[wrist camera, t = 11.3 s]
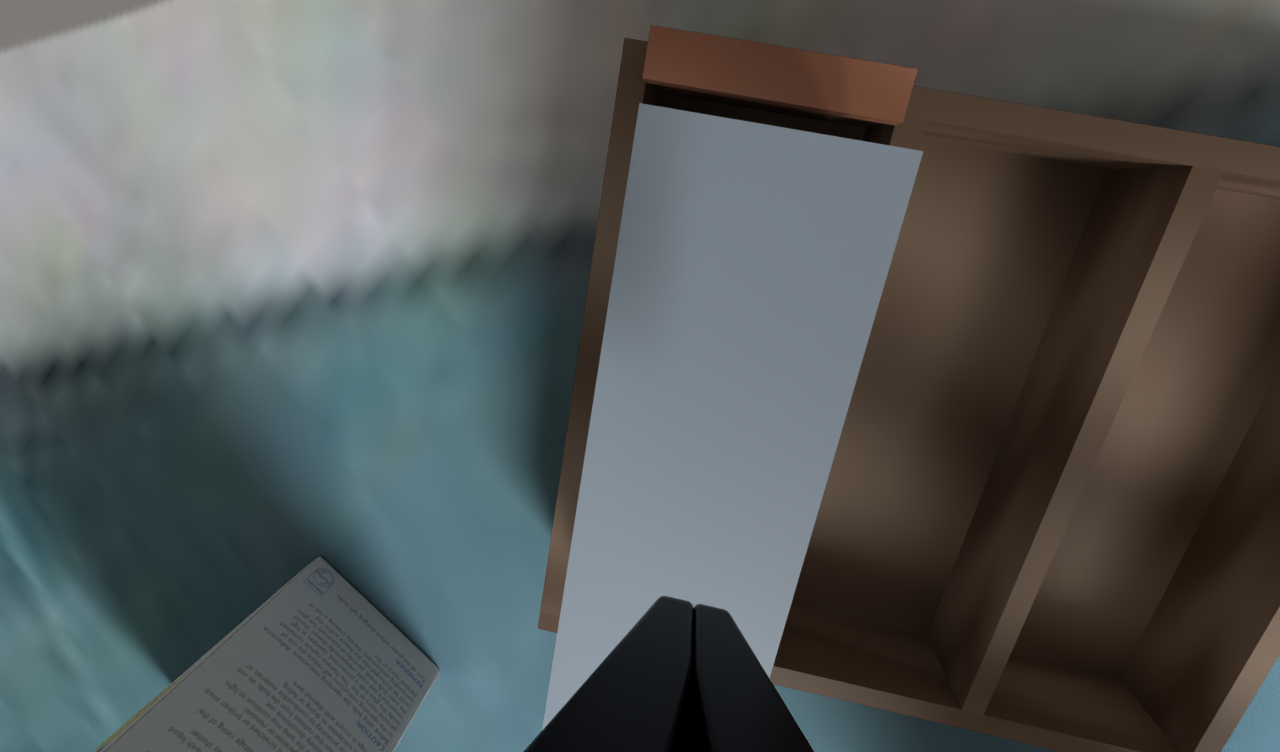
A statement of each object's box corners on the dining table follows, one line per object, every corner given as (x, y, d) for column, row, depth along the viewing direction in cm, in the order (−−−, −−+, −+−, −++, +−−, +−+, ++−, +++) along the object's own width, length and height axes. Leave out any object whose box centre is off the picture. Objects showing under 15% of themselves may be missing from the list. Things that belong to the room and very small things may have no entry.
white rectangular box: (730, 559, 20) (736, 789, 12) (609, 532, 20) (540, 741, 13) (829, 168, 16) (923, 150, 9) (677, 141, 16) (639, 103, 9)
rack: (1120, 683, 20) (1217, 805, 16) (566, 558, 22) (531, 642, 18) (1379, 184, 15) (1607, 183, 11) (645, 60, 17) (621, 20, 13)
